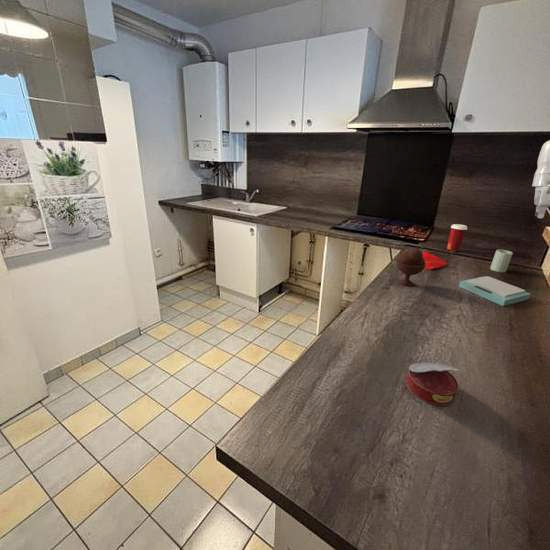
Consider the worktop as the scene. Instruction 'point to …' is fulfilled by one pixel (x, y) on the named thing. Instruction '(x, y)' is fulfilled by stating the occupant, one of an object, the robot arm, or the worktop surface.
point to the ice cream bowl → (410, 264)
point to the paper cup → (456, 236)
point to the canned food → (432, 382)
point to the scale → (495, 290)
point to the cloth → (433, 261)
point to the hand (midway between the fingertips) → (538, 217)
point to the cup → (501, 260)
